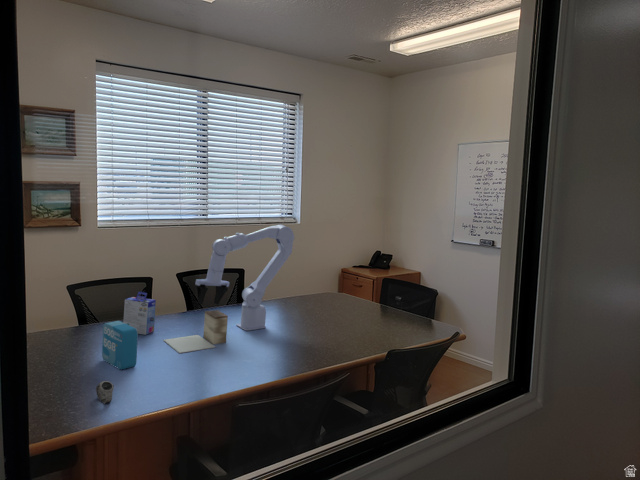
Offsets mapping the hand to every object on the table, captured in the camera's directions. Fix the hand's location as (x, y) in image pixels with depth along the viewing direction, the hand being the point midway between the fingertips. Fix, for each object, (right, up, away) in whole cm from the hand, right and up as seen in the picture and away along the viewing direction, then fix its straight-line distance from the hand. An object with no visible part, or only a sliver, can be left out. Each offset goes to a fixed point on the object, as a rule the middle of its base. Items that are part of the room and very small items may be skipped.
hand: (208, 303), depth 182 cm
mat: (-2, -12, -18) cm, 22 cm away
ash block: (+5, -12, -12) cm, 17 cm away
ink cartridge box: (-23, -9, -9) cm, 27 cm away
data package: (-18, -13, -40) cm, 45 cm away
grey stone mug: (-12, -16, -63) cm, 66 cm away
